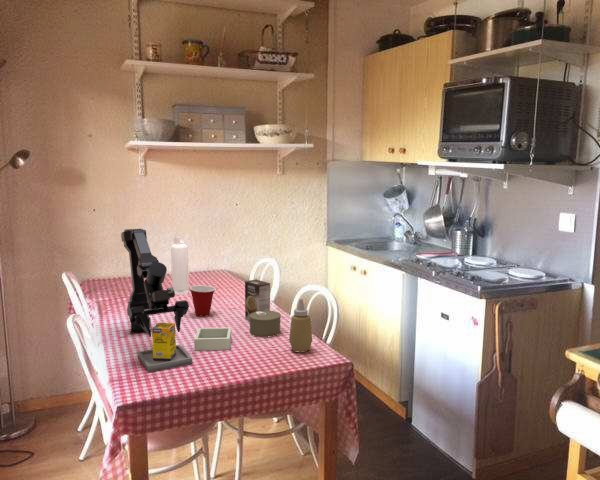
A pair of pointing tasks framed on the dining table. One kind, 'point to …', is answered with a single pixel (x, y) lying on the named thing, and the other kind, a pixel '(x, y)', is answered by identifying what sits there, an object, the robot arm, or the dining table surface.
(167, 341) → the supplement box
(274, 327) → the can
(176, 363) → the tray
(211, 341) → the white square frame
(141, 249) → the robot arm
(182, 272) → the bottle
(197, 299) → the plastic cup
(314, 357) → the dining table surface
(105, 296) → the dining table surface
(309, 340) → the squeeze bottle
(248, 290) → the coffee box
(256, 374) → the dining table surface
